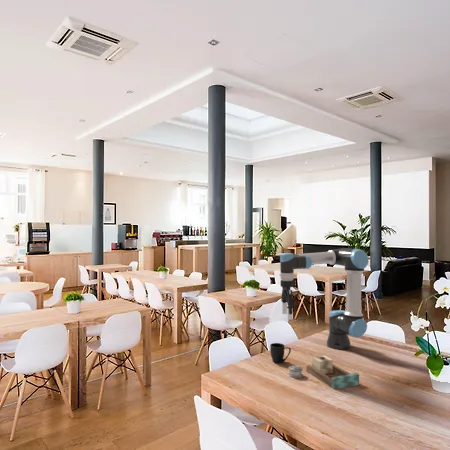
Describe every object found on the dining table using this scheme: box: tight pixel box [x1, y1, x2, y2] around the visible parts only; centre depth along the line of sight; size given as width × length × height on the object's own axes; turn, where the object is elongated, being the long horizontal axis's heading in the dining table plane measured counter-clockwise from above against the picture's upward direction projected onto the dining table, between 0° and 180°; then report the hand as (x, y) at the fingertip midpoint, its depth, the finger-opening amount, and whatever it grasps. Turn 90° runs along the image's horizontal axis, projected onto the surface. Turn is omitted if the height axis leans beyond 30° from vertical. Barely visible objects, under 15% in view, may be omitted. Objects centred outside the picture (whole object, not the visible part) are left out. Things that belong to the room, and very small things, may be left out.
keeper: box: [311, 355, 334, 375], centre depth 198 cm, size 8×7×8 cm
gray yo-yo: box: [288, 365, 304, 379], centre depth 193 cm, size 7×7×4 cm
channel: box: [305, 363, 360, 390], centre depth 190 cm, size 15×24×5 cm, turn 20°
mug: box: [269, 342, 292, 364], centre depth 213 cm, size 8×12×10 cm
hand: (287, 316), depth 211 cm, fingers open, 13 cm apart
